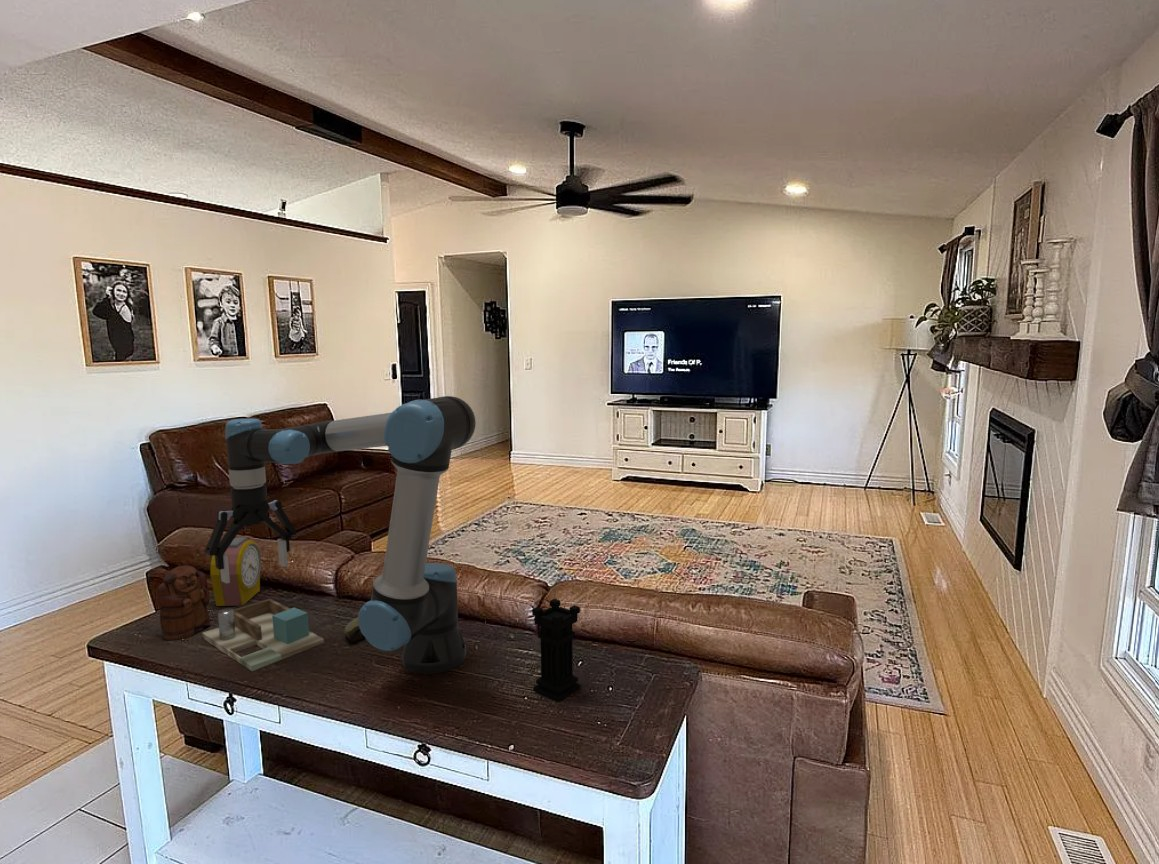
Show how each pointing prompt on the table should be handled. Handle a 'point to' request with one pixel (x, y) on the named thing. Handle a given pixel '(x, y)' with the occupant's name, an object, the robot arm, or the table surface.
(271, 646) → the board
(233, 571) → the alarm clock
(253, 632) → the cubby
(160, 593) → the wooden figurine
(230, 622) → the grey knob
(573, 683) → the chess piece
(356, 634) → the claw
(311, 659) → the table surface
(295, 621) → the block
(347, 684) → the table surface
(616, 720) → the table surface
